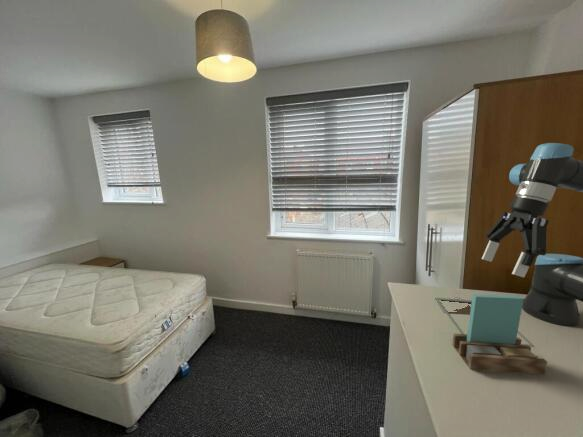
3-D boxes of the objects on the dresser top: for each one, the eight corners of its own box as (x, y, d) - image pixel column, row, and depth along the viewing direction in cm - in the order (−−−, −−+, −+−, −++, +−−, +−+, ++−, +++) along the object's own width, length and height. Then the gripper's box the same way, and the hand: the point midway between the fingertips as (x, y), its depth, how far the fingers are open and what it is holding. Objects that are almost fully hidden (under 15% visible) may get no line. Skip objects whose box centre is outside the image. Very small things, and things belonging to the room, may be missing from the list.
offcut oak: (525, 361, 69) (527, 348, 68) (534, 369, 66) (537, 356, 65) (498, 359, 70) (500, 347, 69) (505, 367, 67) (508, 354, 66)
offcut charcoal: (492, 359, 70) (494, 346, 69) (499, 367, 67) (501, 354, 66) (465, 357, 71) (467, 344, 70) (471, 365, 68) (473, 352, 67)
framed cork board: (465, 340, 78) (432, 294, 107) (465, 344, 78) (432, 297, 107) (536, 348, 74) (482, 298, 103) (536, 352, 74) (481, 301, 103)
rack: (516, 352, 74) (518, 337, 73) (543, 378, 64) (547, 361, 64) (451, 347, 76) (453, 333, 75) (469, 372, 67) (471, 356, 66)
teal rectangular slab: (509, 352, 72) (518, 295, 69) (513, 355, 71) (523, 298, 68) (465, 349, 74) (472, 293, 71) (468, 352, 72) (476, 296, 69)
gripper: (489, 194, 83) (465, 252, 86) (557, 198, 58) (519, 279, 62) (512, 200, 82) (487, 258, 86) (591, 207, 57) (550, 288, 61)
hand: (500, 267), depth 74 cm, fingers open, 13 cm apart
